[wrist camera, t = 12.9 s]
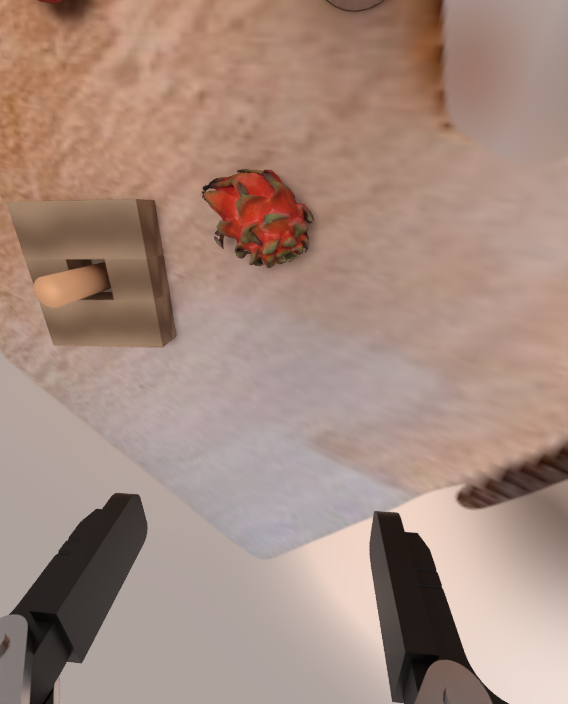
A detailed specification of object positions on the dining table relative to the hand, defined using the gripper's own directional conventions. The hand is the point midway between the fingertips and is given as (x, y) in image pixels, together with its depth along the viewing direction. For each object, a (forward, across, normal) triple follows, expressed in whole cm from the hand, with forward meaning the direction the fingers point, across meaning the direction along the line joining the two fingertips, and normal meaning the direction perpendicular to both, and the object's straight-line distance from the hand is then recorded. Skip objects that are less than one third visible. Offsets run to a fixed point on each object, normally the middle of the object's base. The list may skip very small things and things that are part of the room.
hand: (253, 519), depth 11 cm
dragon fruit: (+30, +4, -9) cm, 32 cm away
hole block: (+30, +23, -3) cm, 38 cm away
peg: (+30, +23, -3) cm, 38 cm away
